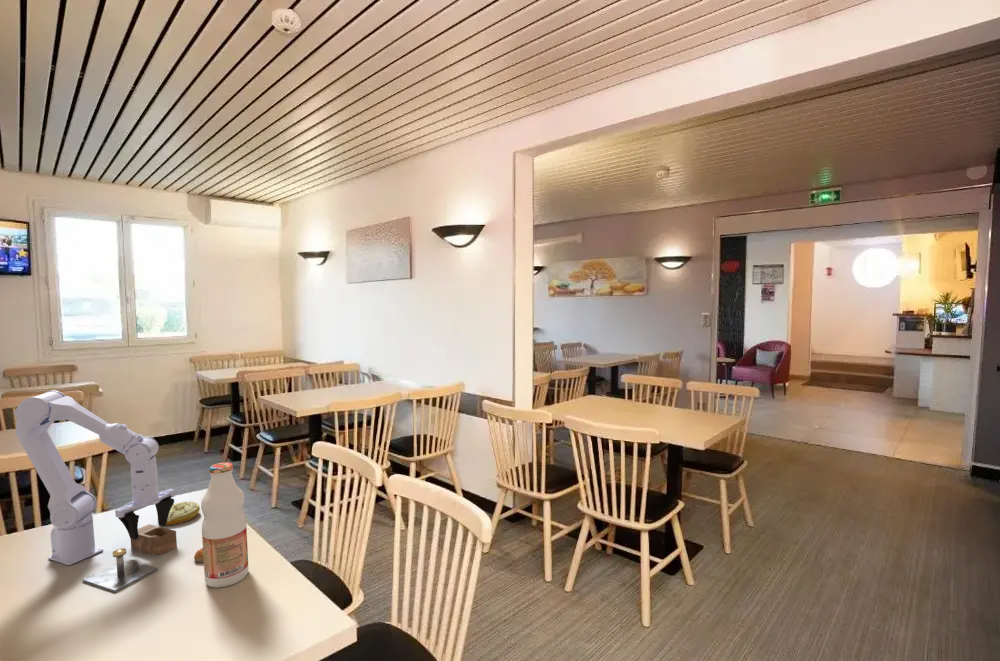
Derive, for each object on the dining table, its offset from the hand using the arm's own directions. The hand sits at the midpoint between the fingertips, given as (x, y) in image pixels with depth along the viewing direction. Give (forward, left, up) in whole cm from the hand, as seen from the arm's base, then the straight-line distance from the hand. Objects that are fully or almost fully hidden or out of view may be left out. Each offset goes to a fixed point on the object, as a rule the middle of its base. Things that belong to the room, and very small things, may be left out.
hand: (148, 531), depth 136 cm
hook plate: (+8, -12, -4) cm, 15 cm away
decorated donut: (-9, +15, -5) cm, 18 cm away
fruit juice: (+33, -3, -4) cm, 33 cm away
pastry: (+21, +4, -5) cm, 22 cm away
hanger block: (+2, 0, -4) cm, 5 cm away
